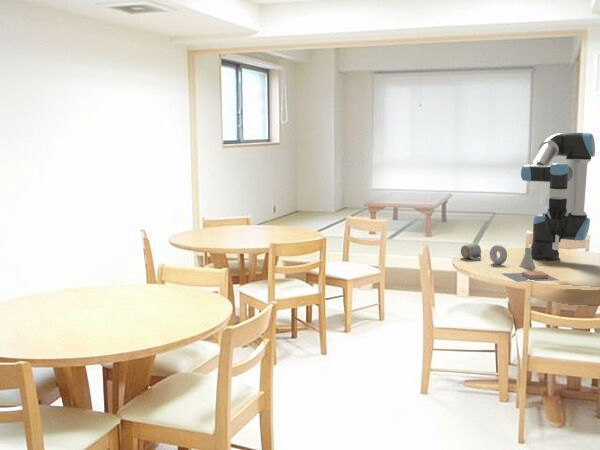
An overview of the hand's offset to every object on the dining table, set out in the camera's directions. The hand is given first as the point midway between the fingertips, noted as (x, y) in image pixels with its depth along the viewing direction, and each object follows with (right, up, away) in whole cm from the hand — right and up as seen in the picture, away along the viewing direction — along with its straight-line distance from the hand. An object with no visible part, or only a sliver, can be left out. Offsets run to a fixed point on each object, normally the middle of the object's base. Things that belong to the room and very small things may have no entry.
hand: (555, 249), depth 291 cm
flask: (-6, -10, +19) cm, 23 cm away
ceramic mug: (-26, -7, +43) cm, 51 cm away
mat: (-12, -13, -1) cm, 18 cm away
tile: (-5, -11, -1) cm, 12 cm away
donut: (-17, -9, +29) cm, 35 cm away
